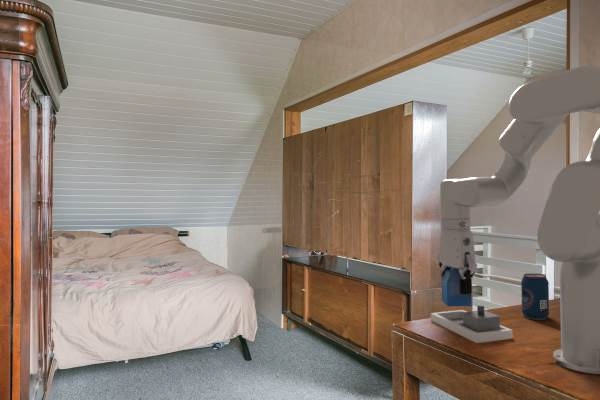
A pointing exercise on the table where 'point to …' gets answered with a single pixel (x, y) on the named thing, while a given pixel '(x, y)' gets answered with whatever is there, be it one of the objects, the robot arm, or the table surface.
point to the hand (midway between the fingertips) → (456, 290)
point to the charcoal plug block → (481, 320)
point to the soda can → (535, 296)
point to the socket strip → (455, 324)
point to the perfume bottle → (454, 289)
